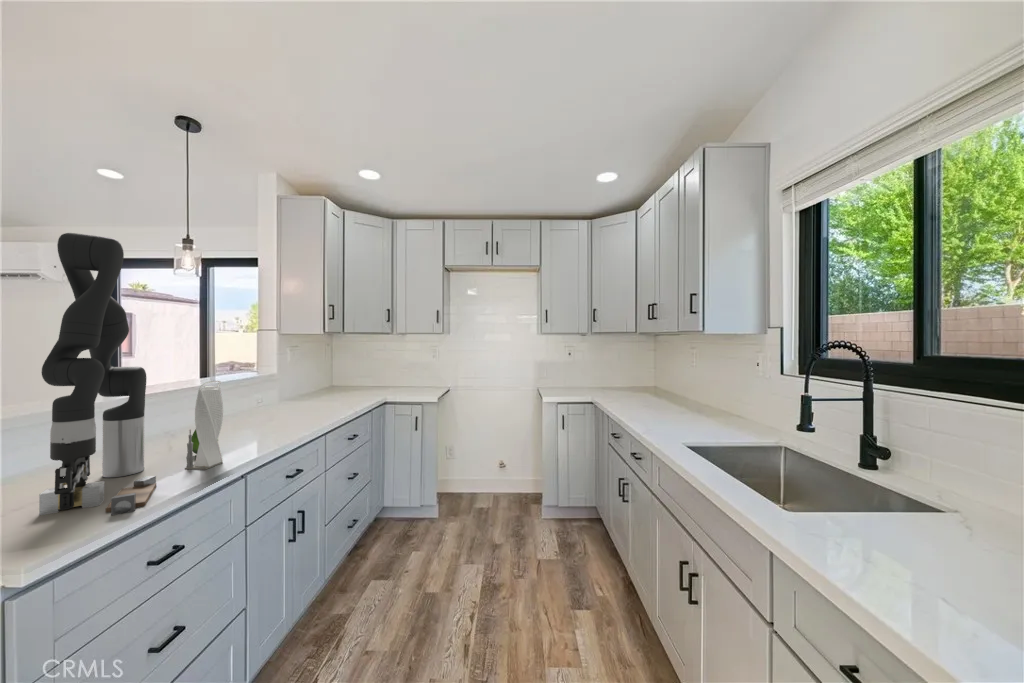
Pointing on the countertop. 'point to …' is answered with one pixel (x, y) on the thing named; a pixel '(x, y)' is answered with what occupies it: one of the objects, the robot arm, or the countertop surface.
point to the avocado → (195, 442)
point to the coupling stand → (132, 496)
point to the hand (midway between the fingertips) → (73, 502)
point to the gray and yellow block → (82, 497)
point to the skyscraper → (207, 428)
